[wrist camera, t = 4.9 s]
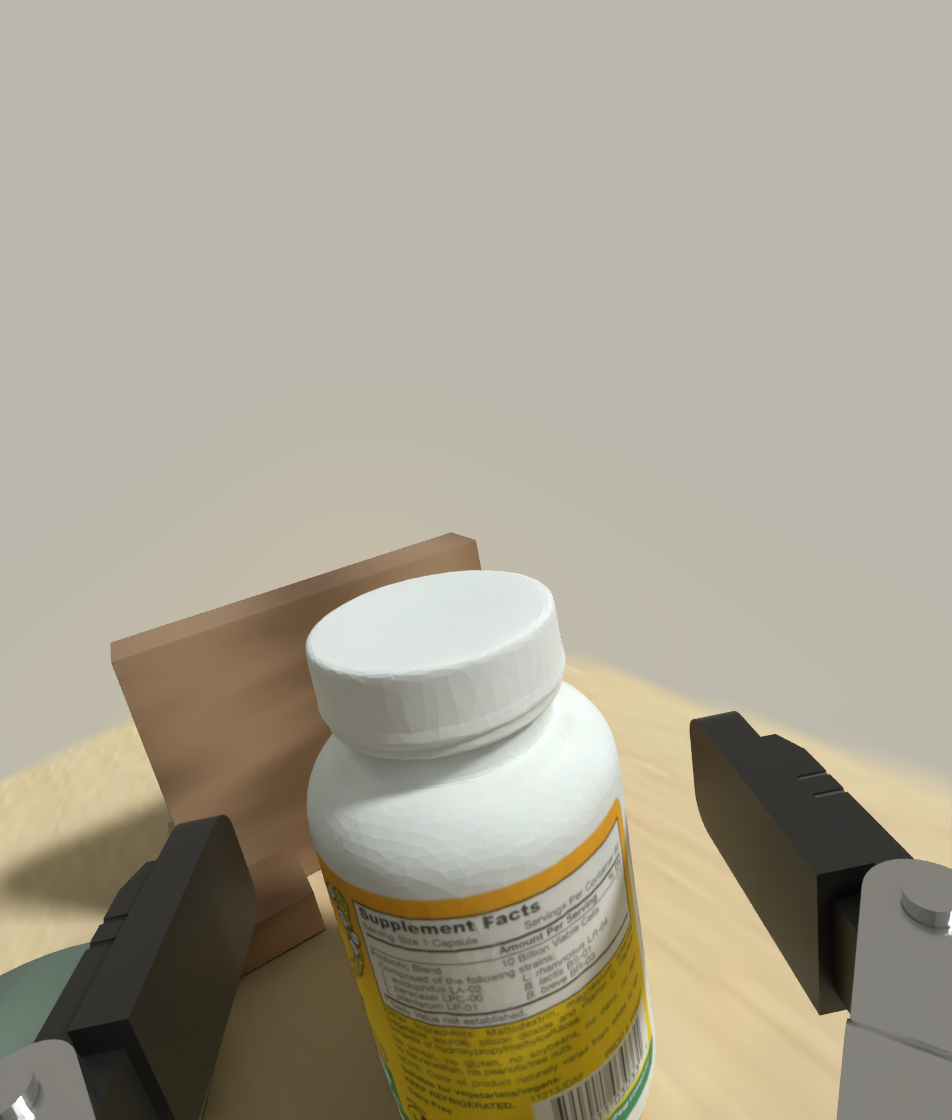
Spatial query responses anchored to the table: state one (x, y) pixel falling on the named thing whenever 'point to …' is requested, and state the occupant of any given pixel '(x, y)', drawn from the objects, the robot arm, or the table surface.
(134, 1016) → the robot arm
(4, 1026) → the pad
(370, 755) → the supplement bottle
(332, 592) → the divider
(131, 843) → the table surface
